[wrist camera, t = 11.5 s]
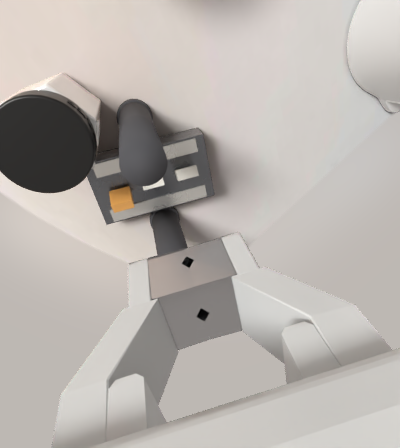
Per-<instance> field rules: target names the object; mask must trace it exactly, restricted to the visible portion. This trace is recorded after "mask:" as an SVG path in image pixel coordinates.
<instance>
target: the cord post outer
mask: <svg viewBox="0 0 400 448" xmlns="http://www.w3.org/2000/svg"><path fill="white" fill-rule="evenodd" d="M150 223H151V226H152V228H153V232H154V238H155V243H156V249H157V254H158V255H161V254H165V253H169V252H172V251H176V250H180V249H185V248H188V247H187V244H186V241H185V238H184V235H183V232H182V229H181V226H180V218H179V215H178V212H177V210H176V209H175V208H173V207H169V208H165V209H162V210H158V211H155V212H152V213H151V215H150Z"/></svg>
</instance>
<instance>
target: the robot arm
mask: <svg viewBox="0 0 400 448" xmlns="http://www.w3.org/2000/svg"><path fill="white" fill-rule="evenodd" d="M347 58H348V64H349V68H350V71H351V74H352V76H353V78H354V80H355V81H356V83H357V84H358V85H359V86H360V87H361V88H362V89H363V90H365V91H366V92H368V93H370V94H372V95H374V96H376V97H377V98H378V99H379V101H380V103H381V104H382V106H383V108H384V109H385V110H386V111H388V112H393V113H396V112H399V111H400V0H361V1H360V2H359V4H358V6H357V9H356V11H355V13H354V16H353V19H352V22H351V25H350V29H349V34H348V41H347ZM242 330H243V332H244V333H245V334H246V335H248V336H249V337H250V338H252V339H253V340H254V341H255V342H257V343H258V344H259V345H261V346H262V347H264V348H265V349H266V350H267V351H269V352H270V353H271V354H273V355H274V356H275V357H276V358H278V359H279V360H280V361H281V362H283V363H284V364H285V372H286V382H287V384H286V385H283V386H280V387H277V388H274V389H271V390H267V391H265V392H261V393H258V394H255V395H252V396H249V397H246V398H242V399H239V400H236V401H233V402H230V403H227V404H224V405H220V406H218V407H214V408H211V409H208V410H205V411H202V412H199V413H196V414H192V415H189V416H186V417H183V418H180V419H177V420H174V421H170V422H166V420H165V418H164V416H163V414H162V412H161V410H160V408H159V406H158V405H159V402H160V399H161V397H162V394H163V392H164V389H165V386H166V384H167V381H168V378H169V376H170V373H171V370H172V368H173V365H174V363H175V360H176V357H177V355H178V350H180V349H183V348H186V347H189V346H192V345H195V344H198V343H201V342H203V341H207V340H209V339H213V338H217V337H220V336H224V335H228V334H231V333H235V332H238V331H242ZM52 448H400V348H398V349H395V350H392V349H391V348H390V346H389V345H388V344H387V343H386V342H385V340H384V339H383V338H382V337H381V336H380V334H379V333H378V332H377V331H376V330H375V329H374V327H373V326H372V325H371V324H370V322H369V321H368V320H367V319H366V318H365V316H364V315H363V314H362V313H361V312H360V310H359V309H358V308H357V307H356V306H355V304H352V303H350V302H348V301H345V300H343V299H340V298H338V297H336V296H333V295H331V294H329V293H326V292H324V291H322V290H319V289H317V288H315V287H312V286H310V285H308V284H305V283H303V282H300V281H298V280H296V279H294V278H291V277H289V276H286V275H284V274H282V273H279V272H277V271H274V270H272V269H270V268H268V267H262V268H260V267H259V266H258V264H257V262H256V260H255V259H254V257H253V255H252V253H251V252H250V250H249V248H248V246H247V245H246V243H245V241H244V239H243V238H242V236H241V234H240V233H239V232H235V233H232V234H229V235H226V236H223V237H220V238H218V239H215V240H212V241H208V242H205V243H202V244H198V245H195V246H192V247H189V248H185V249H180V250H176V251H172V252H169V253H165V254H161V255H158V256H154V257H150V258H148V259H143V260H139V261H136V262H133V263H129V265H128V307H127V308H125V309H122V310H121V312H120V313H119V315H118V316H117V317H116V319H115V320H114V322H113V323H112V324H111V326H110V327H109V328H108V330H107V331H106V333H105V334H104V336H103V337H102V338H101V340H100V341H99V343H98V344H97V345H96V347H95V348H94V350H93V351H92V352H91V354H90V355H89V356H88V358H87V359H86V360H85V362H84V363H83V365H82V366H81V367H80V369H79V370H78V372H77V373H76V374H75V376H74V377H73V378H72V380H71V381H70V383H69V384H68V385H67V387H66V388H65V390H64V391H63V392H62V394H61V396H60V402H59V408H58V413H57V419H56V425H55V430H54V436H53V442H52Z"/></svg>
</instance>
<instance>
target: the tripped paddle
mask: <svg viewBox="0 0 400 448" xmlns="http://www.w3.org/2000/svg"><path fill="white" fill-rule="evenodd" d="M109 196H110V203H111V207H112V209H113V211H114V213H116V212H120V211H123V210H127V209H131V208H134V207H135V206H134V201H133V196H132V192H131V189H130V187H129V186H127V187H124V188H120V189H116V190H112V191H109Z"/></svg>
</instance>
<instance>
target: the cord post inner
mask: <svg viewBox="0 0 400 448" xmlns="http://www.w3.org/2000/svg"><path fill="white" fill-rule="evenodd" d="M117 122H118V125H119V167H120V171H121V173H122V175H123V176H124V177H125V179H126V180H128V181H129V182H130V183H132V184H134V185H138V186H149V185H153V184H155V183H157V182H158V181H159V180H161V179H162V178H163V176H164V175H165V173H166V170H167V165H168V161H167V157H166V154H165V151H164V149H163V146H162V144H161V141H160V138H159V136H158V133H157V131H156V128H155V125H154V123H153V117H152V113H151V110H150V108H149V107H148V106H147V104H145V103H144V102H143V101H141V100H138V99H129V100H127V101H125V102H123V103H122V104H121V105H120V107H119V109H118V111H117Z"/></svg>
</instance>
